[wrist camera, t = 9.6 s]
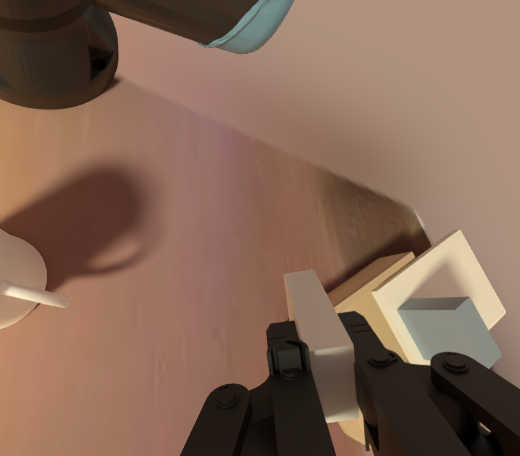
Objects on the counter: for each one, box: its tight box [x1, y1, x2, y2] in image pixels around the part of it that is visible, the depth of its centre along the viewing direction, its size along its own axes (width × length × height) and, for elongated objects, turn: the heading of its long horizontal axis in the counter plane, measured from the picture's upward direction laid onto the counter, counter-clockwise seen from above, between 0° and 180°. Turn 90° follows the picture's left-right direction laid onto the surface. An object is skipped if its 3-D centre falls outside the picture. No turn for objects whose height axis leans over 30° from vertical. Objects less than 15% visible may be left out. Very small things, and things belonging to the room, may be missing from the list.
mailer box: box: [288, 251, 415, 449], centre depth 39 cm, size 16×14×6 cm
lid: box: [371, 229, 506, 369], centre depth 37 cm, size 16×12×8 cm
